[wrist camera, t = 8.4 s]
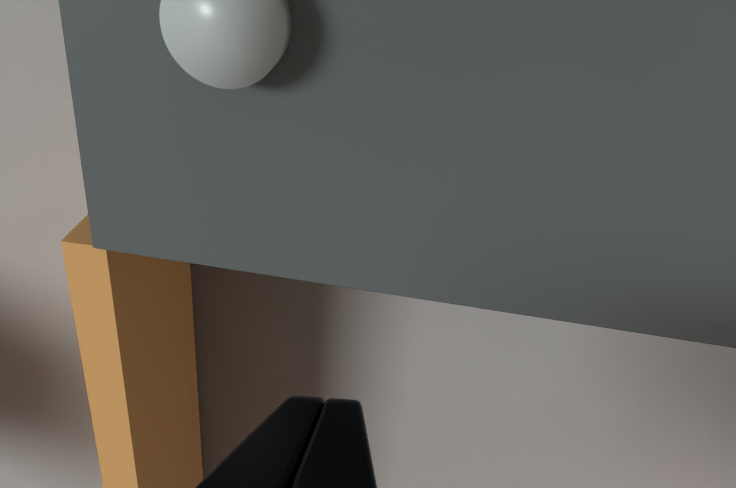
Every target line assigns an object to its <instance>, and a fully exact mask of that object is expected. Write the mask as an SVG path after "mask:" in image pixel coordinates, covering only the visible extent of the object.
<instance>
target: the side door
mask: <svg viewBox="0 0 736 488" xmlns="http://www.w3.org/2000/svg"><path fill="white" fill-rule="evenodd" d="M61 244H62V249H63V255H64V261H65V267H66V273H67V278H68V284H69V290H70V296H71V301H72V307H73V313H74V319H75V325H76V330H77V336H78V342H79V348H80V354H81V359H82V365H83V371H84V377H85V382H86V388H87V394H88V400H89V406H90V411H91V417H92V423H93V429H94V435H95V440H96V446H97V452H98V458H99V463H100V469H101V475H102V481H103V487H104V488H195V487H196V486H197V485H198V484H199V483H200V482H201V481H202V480H203V469H202V453H201V436H200V419H199V403H198V386H197V369H196V353H195V336H194V319H193V303H192V286H191V269H190V263H187V262H180V261H174V260H167V259H161V258H154V257H148V256H142V255H135V254H129V253H122V252H116V251H109V250H103V249H97V248H93V244H92V237H91V230H90V222H89V215H87V216H86V217H85V218H84V219H83V220H82V221H81V222H80V223H79V224H78V225H77V226H76V227H75V228H74V229H73V230H72V231H71V232H70V233H69V234H68V235H67V236H66V237H65V238H64V239H63V240H62V241H61Z"/></svg>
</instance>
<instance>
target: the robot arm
mask: <svg viewBox="0 0 736 488" xmlns="http://www.w3.org/2000/svg"><path fill="white" fill-rule="evenodd" d="M195 488H377V486H376V480H375V475H374V469H373V464H372V459H371V453H370V448H369V443H368V437H367V432H366V426H365V421H364V416H363V410H362V406H361V403H360V402H359V401H357V400H348V399H334V398H331V399H328V400H327V401H326V402H325V401H324V400H323V399H322V398H319V397H305V396H292V397H290V398H288V399H287V400H285V401H284V402H283V403H282V404H281V405H280V406H279V407H278V408H277V409H276V410H275V411H274V412H273V413H272V414H271V415H270V416H269V417H268V418H267V419H266V420H264V421H263V422H262V423H261V424H260V425H259V426H258V427H257V428H256V429H255V430H254V431H253V432H252V433H251V434H250V435H249V436H248V437H247V438H246V439H245V440H244V441H243V442H242V443H240V444H239V445H238V446H237V447H236V448H235V449H234V450H233V451H232V452H231V453H230V454H229V455H228V456H227V457H226V458H225V459H224V460H223V461H222V462H221V463H220V464H219V465H217V466H216V467H215V468H214V469H213V470H212V471H211V472H210V473H209V474H208V475H207V476H206V477H205V478H204V479H203V480H202V481H201V482H200V483H199V484H198V485H197V486H196V487H195Z"/></svg>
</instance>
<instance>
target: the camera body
mask: <svg viewBox="0 0 736 488" xmlns="http://www.w3.org/2000/svg"><path fill="white" fill-rule="evenodd" d="M59 6H60V13H61V20H62V27H63V34H64V42H65V49H66V56H67V63H68V71H69V78H70V85H71V92H72V100H73V107H74V114H75V121H76V128H77V136H78V143H79V150H80V157H81V165H82V172H83V179H84V186H85V193H86V201H87V208H88V215H89V222H90V230H91V237H92V244H93V248H97V249H103V250H109V251H116V252H122V253H129V254H135V255H142V256H148V257H154V258H161V259H167V260H174V261H180V262H187V263H193V264H199V265H206V266H212V267H219V268H225V269H232V270H238V271H244V272H251V273H257V274H264V275H270V276H277V277H283V278H289V279H296V280H302V281H309V282H315V283H322V284H328V285H334V286H341V287H347V288H354V289H360V290H366V291H373V292H379V293H386V294H392V295H399V296H405V297H411V298H418V299H424V300H431V301H437V302H444V303H450V304H456V305H463V306H469V307H476V308H482V309H489V310H495V311H501V312H508V313H514V314H521V315H527V316H534V317H540V318H546V319H553V320H559V321H566V322H572V323H578V324H585V325H591V326H598V327H604V328H611V329H617V330H623V331H630V332H636V333H643V334H649V335H656V336H662V337H668V338H675V339H681V340H688V341H694V342H701V343H707V344H713V345H720V346H726V347H733V348H736V0H59Z"/></svg>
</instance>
